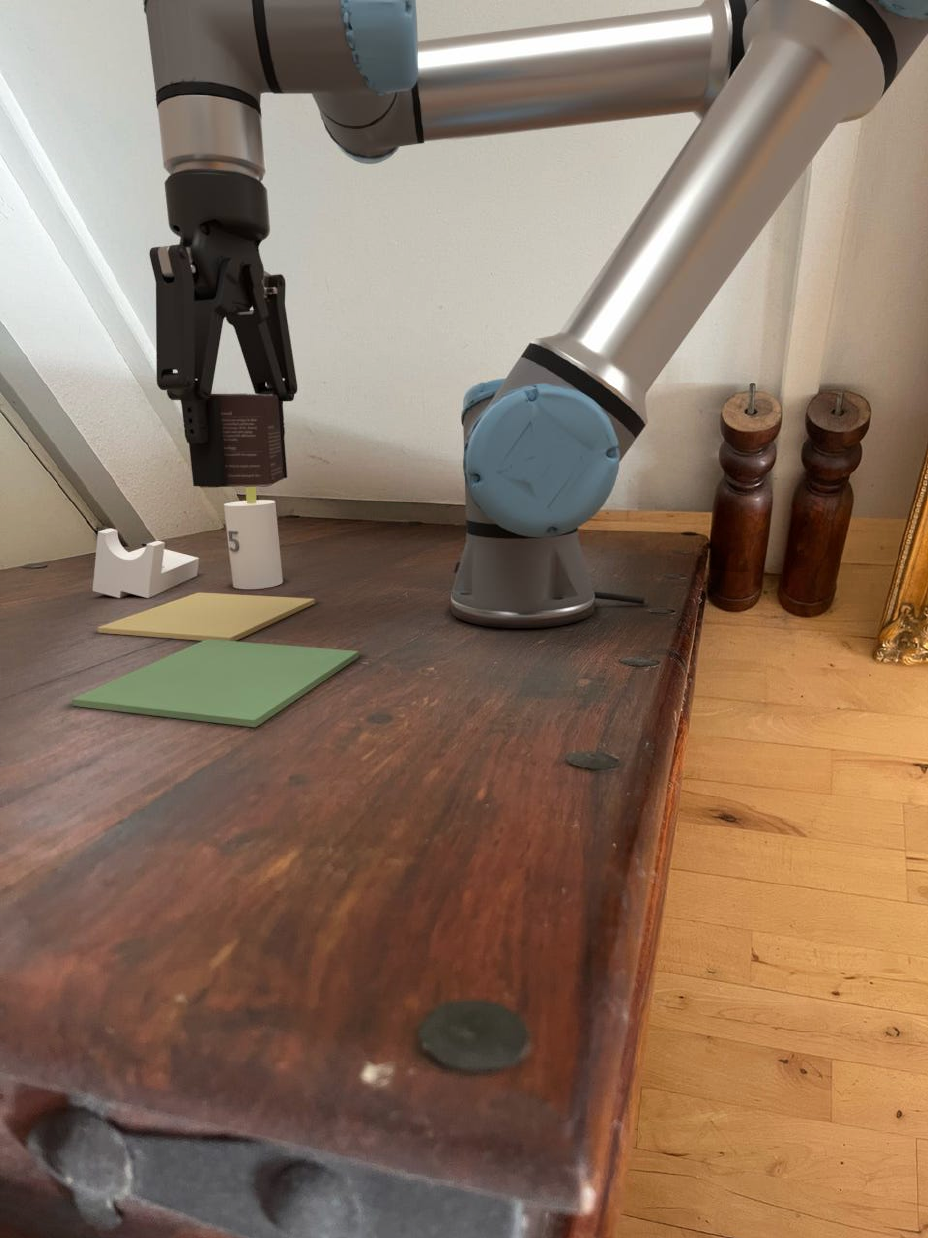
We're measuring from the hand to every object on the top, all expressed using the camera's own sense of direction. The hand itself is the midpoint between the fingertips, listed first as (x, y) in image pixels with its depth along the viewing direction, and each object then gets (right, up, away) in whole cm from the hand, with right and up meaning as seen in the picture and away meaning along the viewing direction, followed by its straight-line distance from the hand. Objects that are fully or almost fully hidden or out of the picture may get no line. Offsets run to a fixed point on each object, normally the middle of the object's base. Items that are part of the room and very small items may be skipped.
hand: (243, 481), depth 63 cm
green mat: (-1, -17, -2) cm, 17 cm away
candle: (-8, -7, +34) cm, 36 cm away
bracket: (-22, -8, +34) cm, 42 cm away
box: (0, 0, 0) cm, 0 cm away
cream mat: (-9, -11, +18) cm, 23 cm away
